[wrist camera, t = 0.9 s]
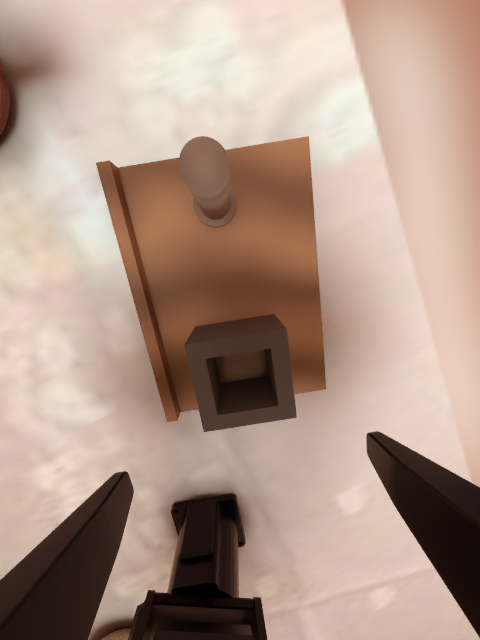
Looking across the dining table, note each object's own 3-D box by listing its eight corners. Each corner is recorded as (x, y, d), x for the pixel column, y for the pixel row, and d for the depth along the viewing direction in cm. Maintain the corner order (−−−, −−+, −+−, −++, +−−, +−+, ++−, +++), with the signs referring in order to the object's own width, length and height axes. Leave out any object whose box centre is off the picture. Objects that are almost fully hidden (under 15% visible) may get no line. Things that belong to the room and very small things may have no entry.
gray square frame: (282, 384, 18) (296, 417, 14) (210, 396, 18) (204, 431, 14) (274, 313, 17) (286, 328, 13) (195, 326, 17) (184, 345, 13)
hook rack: (320, 381, 20) (369, 446, 13) (174, 404, 20) (142, 481, 13) (302, 146, 15) (362, 45, 8) (115, 177, 15) (16, 103, 8)
